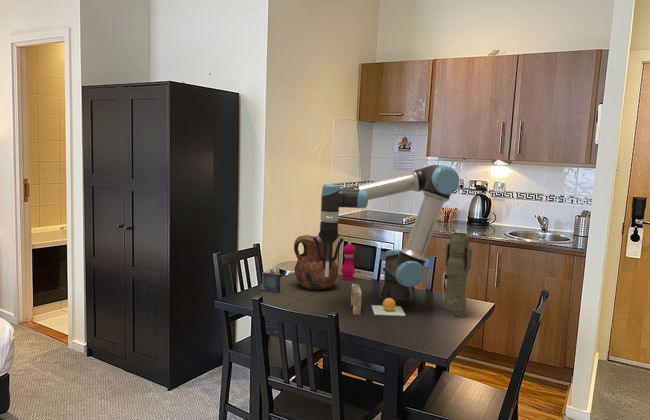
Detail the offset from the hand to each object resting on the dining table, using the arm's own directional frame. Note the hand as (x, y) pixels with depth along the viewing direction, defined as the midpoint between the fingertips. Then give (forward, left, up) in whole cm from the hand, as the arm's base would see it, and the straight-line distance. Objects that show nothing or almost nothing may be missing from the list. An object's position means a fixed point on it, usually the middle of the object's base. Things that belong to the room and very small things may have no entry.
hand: (326, 276), depth 221 cm
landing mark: (-27, 0, -14) cm, 30 cm away
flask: (+25, -23, -14) cm, 37 cm away
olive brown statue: (-55, +2, -14) cm, 57 cm away
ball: (-27, 0, -11) cm, 30 cm away
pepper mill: (-13, -53, -14) cm, 56 cm away
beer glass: (-56, -11, -14) cm, 59 cm away
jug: (+4, -35, -14) cm, 38 cm away
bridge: (-13, 0, -14) cm, 19 cm away
